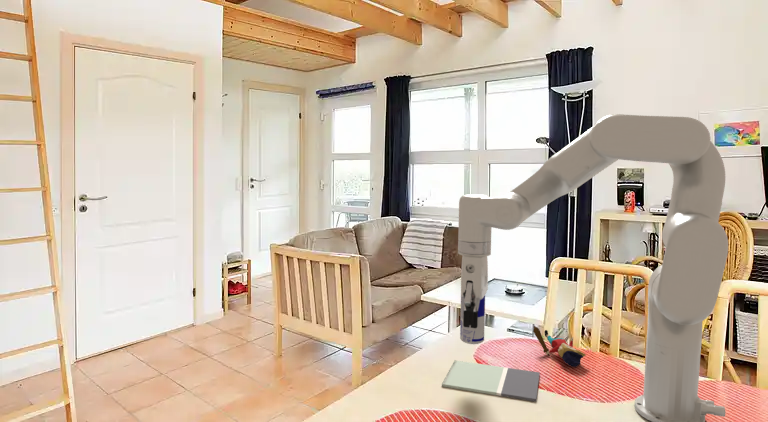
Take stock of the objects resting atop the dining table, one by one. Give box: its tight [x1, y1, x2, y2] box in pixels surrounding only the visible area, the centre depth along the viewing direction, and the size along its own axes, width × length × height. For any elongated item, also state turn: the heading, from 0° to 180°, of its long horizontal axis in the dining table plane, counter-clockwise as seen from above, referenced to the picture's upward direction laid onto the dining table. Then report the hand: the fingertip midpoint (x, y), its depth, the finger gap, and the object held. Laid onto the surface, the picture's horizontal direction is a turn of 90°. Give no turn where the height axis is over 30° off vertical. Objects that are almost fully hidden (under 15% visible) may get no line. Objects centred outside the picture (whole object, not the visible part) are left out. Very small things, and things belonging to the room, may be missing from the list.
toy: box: [532, 325, 587, 368], centre depth 130 cm, size 9×6×15 cm
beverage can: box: [459, 292, 486, 345], centre depth 115 cm, size 6×6×15 cm
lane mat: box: [441, 359, 541, 402], centre depth 117 cm, size 21×14×1 cm, turn 70°
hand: (472, 322), depth 116 cm, fingers closed on beverage can, 4 cm apart
